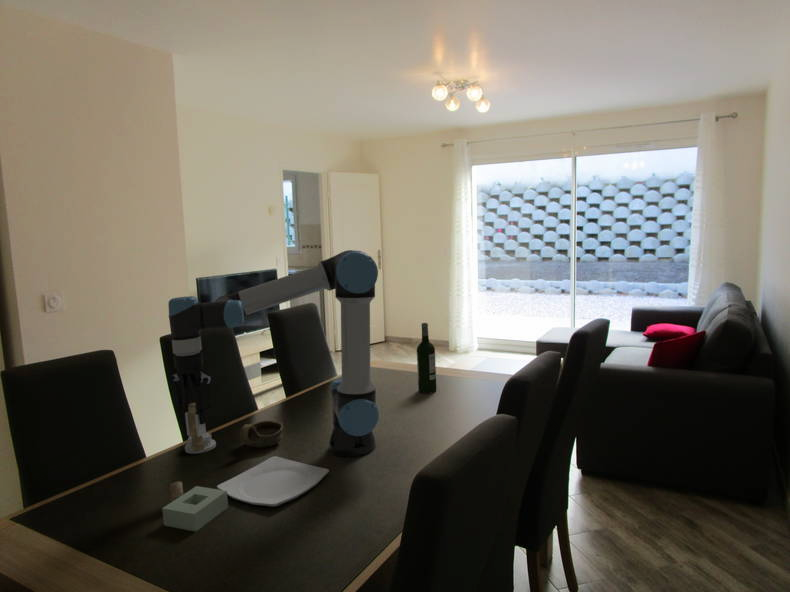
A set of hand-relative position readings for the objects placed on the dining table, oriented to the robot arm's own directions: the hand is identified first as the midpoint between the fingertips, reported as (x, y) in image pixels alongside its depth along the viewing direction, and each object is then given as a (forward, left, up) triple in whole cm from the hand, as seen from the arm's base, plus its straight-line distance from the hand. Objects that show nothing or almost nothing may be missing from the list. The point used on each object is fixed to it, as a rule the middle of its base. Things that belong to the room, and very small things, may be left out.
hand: (196, 434), depth 150 cm
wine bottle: (-35, -102, -16) cm, 109 cm away
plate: (-20, -7, -16) cm, 27 cm away
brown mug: (+1, -30, -16) cm, 34 cm away
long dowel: (0, 0, -4) cm, 4 cm away
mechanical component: (+21, -24, -16) cm, 36 cm away
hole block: (-10, +13, -16) cm, 23 cm away
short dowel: (-1, +10, -16) cm, 19 cm away
